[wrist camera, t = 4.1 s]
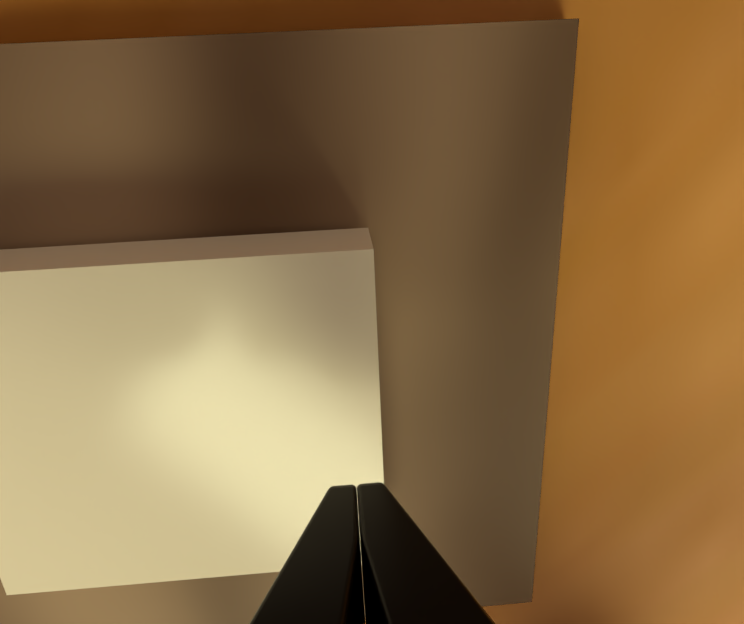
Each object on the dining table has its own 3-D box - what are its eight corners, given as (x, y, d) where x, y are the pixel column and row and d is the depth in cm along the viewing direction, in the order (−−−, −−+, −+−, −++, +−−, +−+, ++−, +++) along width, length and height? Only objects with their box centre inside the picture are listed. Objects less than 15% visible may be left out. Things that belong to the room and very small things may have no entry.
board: (566, 21, 11) (579, 18, 10) (524, 583, 16) (531, 602, 16) (-219, 55, 10) (-250, 54, 10) (5, 629, 16) (-7, 650, 15)
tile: (373, 248, 10) (-113, 279, 10) (387, 562, 13) (6, 595, 12) (367, 225, 12) (-53, 250, 11) (381, 509, 14) (42, 537, 14)
